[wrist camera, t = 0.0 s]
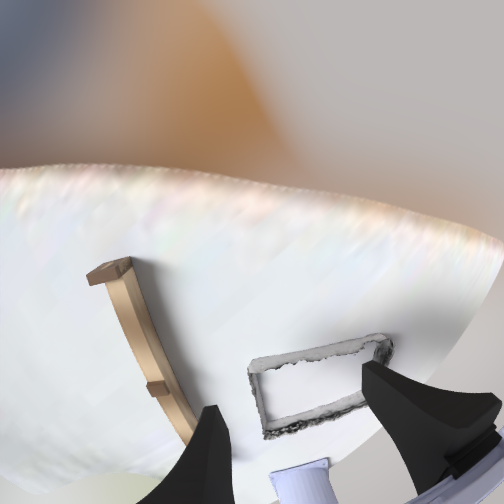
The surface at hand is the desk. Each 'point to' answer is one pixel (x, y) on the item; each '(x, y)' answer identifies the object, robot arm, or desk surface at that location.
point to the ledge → (145, 342)
